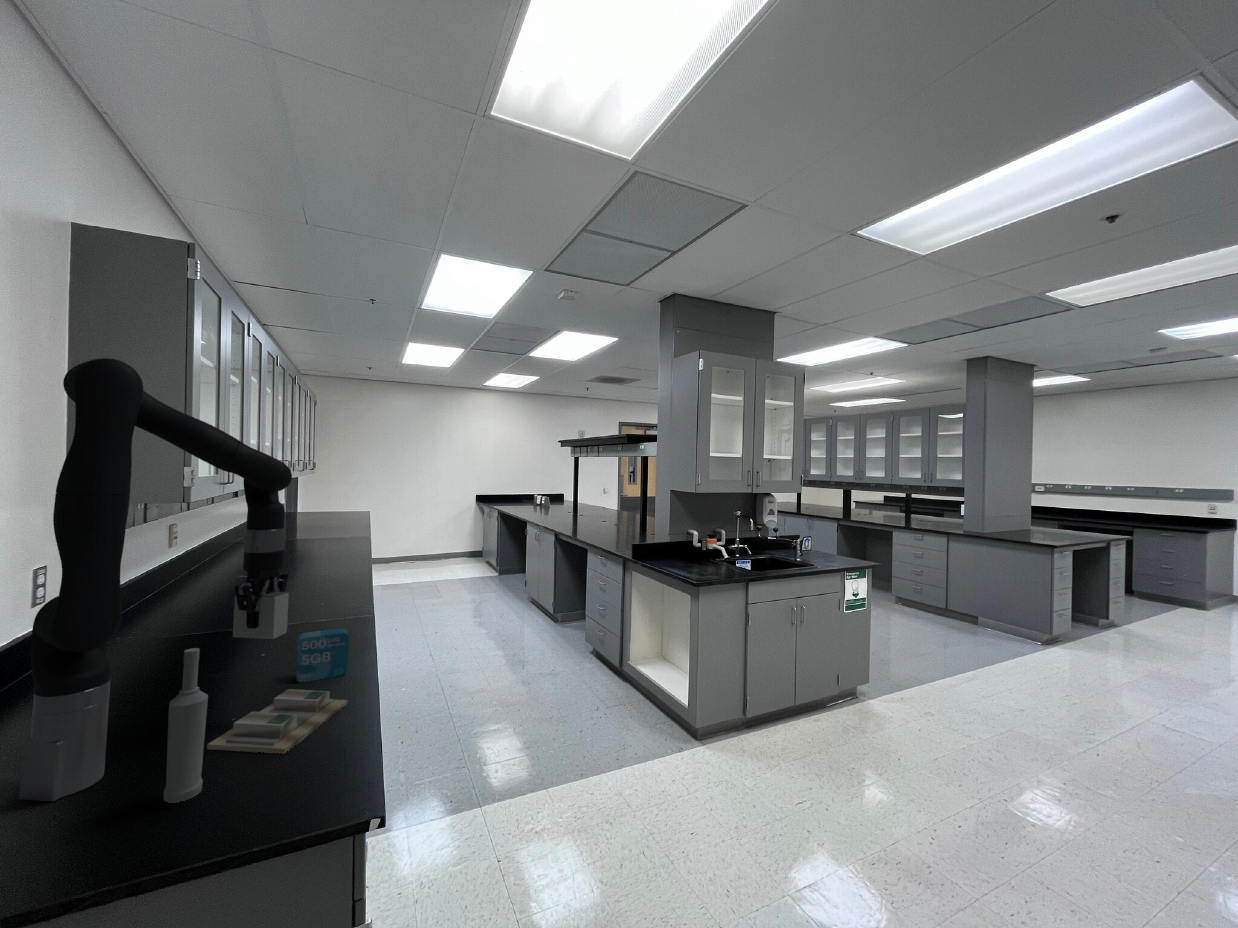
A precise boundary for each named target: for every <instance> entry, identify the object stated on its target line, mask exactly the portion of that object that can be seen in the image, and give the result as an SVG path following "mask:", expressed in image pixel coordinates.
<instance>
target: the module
mask: <svg viewBox="0 0 1238 928" xmlns="http://www.w3.org/2000/svg"><path fill="white" fill-rule="evenodd" d="M252 596H253V597H257V596H259V595H253V594H252ZM289 596H290V595H289V592H287V591H285V592H280V591H279V592H270V593H266V594H265V596H264V597H263V599H262V600H261V601H260V609H259V626H258V627H257V628H255V629H252V628H247V625H246V622H247V621H246V619H247V612H246V611H242V610H239V609H238V603H237V598H236V595H235V596H234V602H233V603H234V604H233V605H234V607H233V625H232V626H233V627H232V628H233V629H232V638H237V639H238V638H240V639H243V638H244V639H260V640H261V639H263V640H265V639H268V640H274V639H277V638H278V637H281V636H282V635H285V634H286V633H288V620H289V619H288V618H289V617H288V615H289V611H288V610H289V598H290V597H289ZM244 605H246V602H245V601H244ZM253 605H255V600H253Z"/></svg>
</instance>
